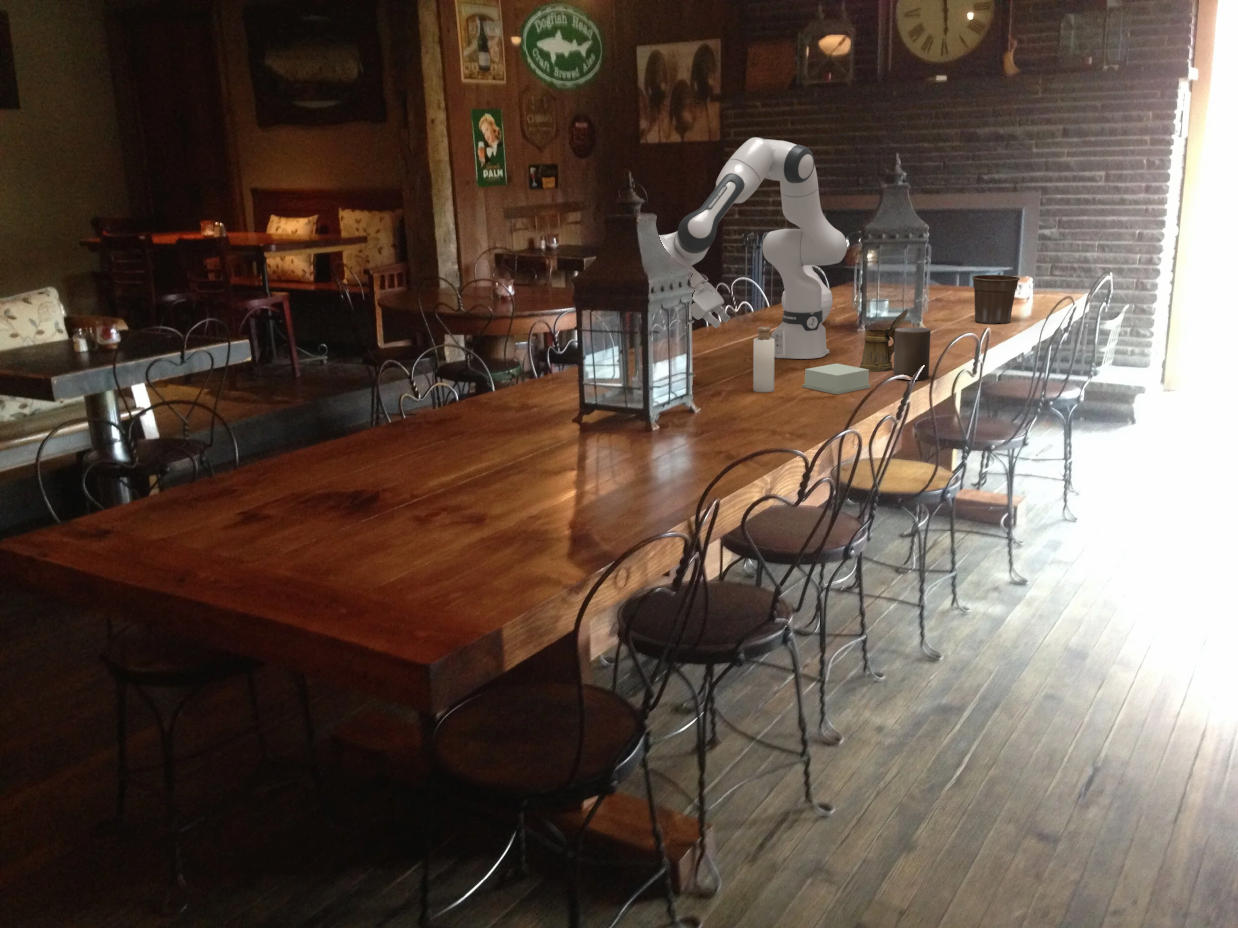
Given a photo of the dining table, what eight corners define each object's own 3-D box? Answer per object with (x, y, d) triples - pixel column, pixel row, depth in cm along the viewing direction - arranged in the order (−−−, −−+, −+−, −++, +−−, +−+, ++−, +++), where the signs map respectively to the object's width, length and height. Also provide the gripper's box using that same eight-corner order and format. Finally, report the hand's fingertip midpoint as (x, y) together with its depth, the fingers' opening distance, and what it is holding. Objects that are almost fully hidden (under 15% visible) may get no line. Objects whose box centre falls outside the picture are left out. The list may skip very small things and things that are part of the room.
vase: (772, 323, 416) (773, 241, 408) (817, 320, 421) (819, 239, 413) (794, 330, 399) (796, 245, 391) (841, 326, 404) (843, 242, 396)
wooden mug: (899, 374, 321) (901, 311, 316) (855, 369, 329) (856, 308, 324) (911, 368, 328) (913, 307, 323) (867, 364, 336) (869, 304, 331)
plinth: (802, 387, 307) (803, 369, 306) (836, 380, 314) (836, 363, 313) (836, 394, 297) (837, 376, 296) (870, 387, 304) (871, 369, 303)
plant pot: (1021, 320, 408) (1024, 275, 403) (1010, 326, 395) (1013, 280, 390) (976, 317, 416) (978, 273, 412) (964, 323, 403) (966, 278, 399)
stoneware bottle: (749, 389, 307) (750, 327, 302) (768, 387, 309) (768, 325, 304) (759, 393, 302) (759, 330, 297) (777, 391, 303) (778, 328, 299)
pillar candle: (929, 381, 310) (932, 327, 306) (893, 380, 312) (895, 327, 308) (927, 375, 319) (930, 322, 315) (892, 374, 321) (894, 322, 317)
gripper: (685, 283, 294) (721, 321, 293) (706, 274, 312) (740, 310, 312) (669, 299, 297) (705, 337, 296) (691, 290, 315) (725, 325, 314)
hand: (723, 323), depth 304 cm, fingers open, 8 cm apart
